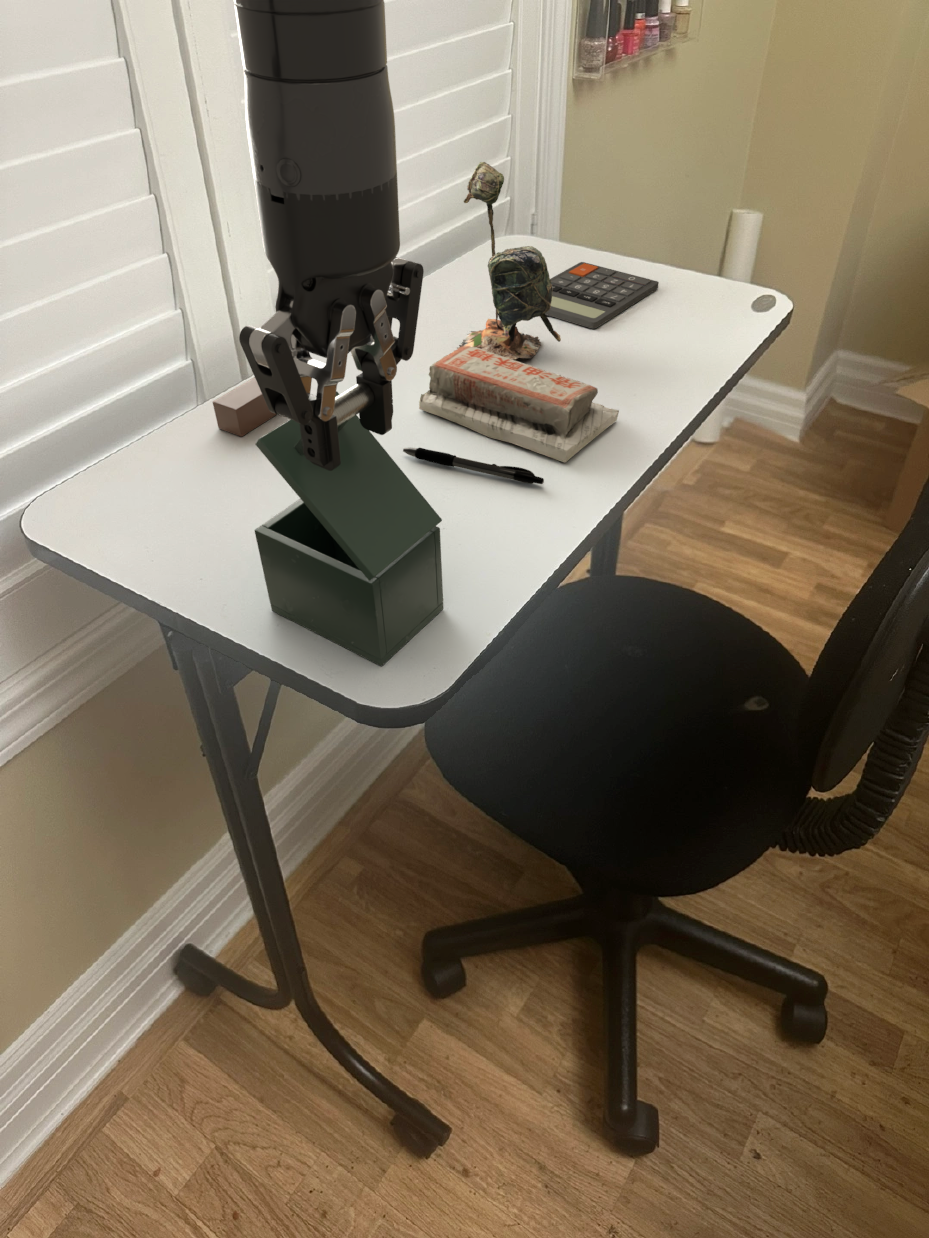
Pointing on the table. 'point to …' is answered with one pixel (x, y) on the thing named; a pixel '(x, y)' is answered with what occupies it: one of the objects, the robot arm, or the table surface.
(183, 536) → the table surface
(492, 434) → the packaged product
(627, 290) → the calculator
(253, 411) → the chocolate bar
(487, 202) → the plant with pod
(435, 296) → the table surface
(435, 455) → the pen
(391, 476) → the bin lid
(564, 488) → the table surface
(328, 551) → the green storage bin
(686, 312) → the table surface
